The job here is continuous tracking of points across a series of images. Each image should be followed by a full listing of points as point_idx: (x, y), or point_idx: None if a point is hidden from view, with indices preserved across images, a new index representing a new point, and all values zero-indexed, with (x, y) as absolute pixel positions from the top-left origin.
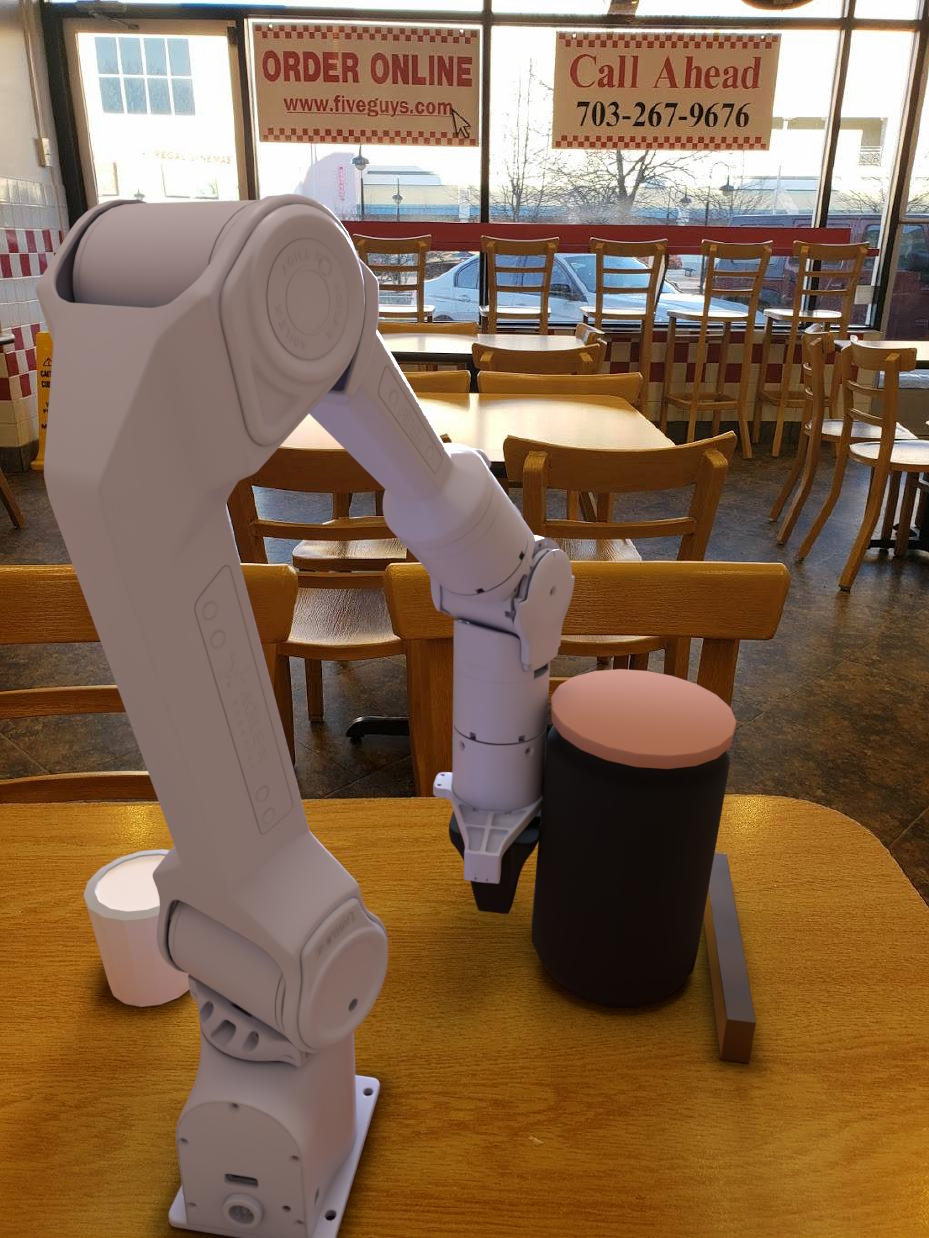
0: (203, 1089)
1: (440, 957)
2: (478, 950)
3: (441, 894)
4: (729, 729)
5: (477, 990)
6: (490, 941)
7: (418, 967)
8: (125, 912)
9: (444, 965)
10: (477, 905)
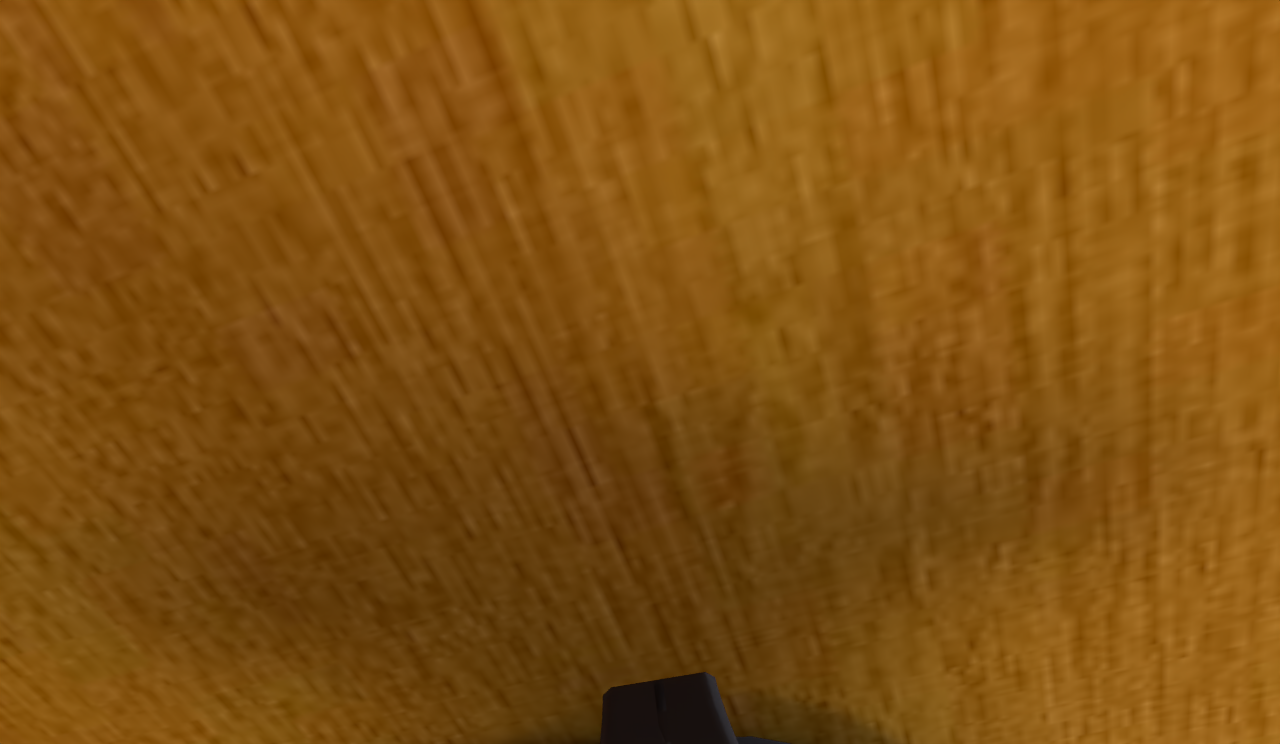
0: None
1: (410, 434)
2: (532, 556)
3: (919, 275)
4: None
5: (285, 621)
6: (611, 578)
7: (285, 367)
8: None
9: (364, 467)
10: (603, 718)
